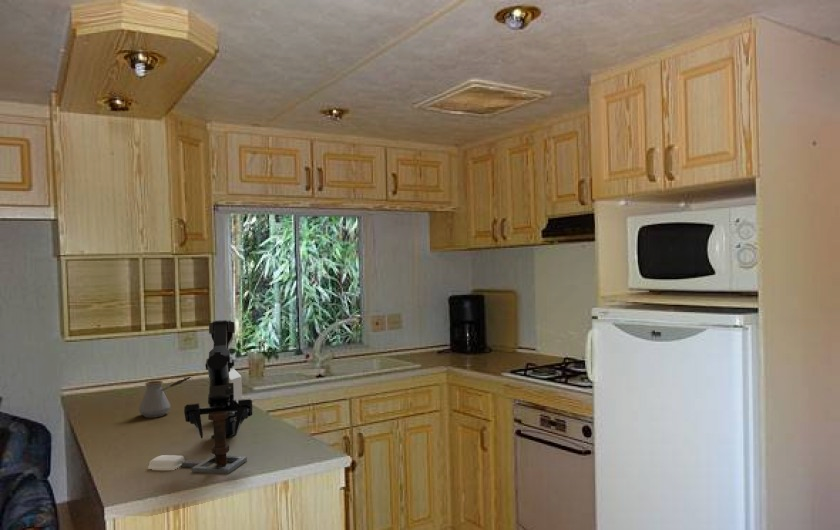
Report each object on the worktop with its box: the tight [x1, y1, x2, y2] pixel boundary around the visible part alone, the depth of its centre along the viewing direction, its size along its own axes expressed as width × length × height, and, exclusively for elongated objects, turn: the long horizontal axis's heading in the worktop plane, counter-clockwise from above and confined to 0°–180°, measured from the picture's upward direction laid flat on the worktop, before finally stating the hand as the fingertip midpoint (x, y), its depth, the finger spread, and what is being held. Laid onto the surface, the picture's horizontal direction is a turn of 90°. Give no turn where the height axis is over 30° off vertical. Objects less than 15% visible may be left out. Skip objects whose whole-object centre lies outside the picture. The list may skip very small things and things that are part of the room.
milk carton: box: [229, 366, 243, 413], centre depth 232 cm, size 7×7×19 cm
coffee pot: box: [138, 376, 193, 419], centre depth 238 cm, size 21×12×15 cm, turn 84°
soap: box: [147, 454, 185, 471], centre depth 176 cm, size 9×7×3 cm
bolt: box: [207, 411, 230, 467], centre depth 175 cm, size 6×5×15 cm
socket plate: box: [181, 455, 248, 475], centre depth 174 cm, size 16×11×1 cm, turn 79°
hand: (218, 435), depth 172 cm, fingers open, 9 cm apart
